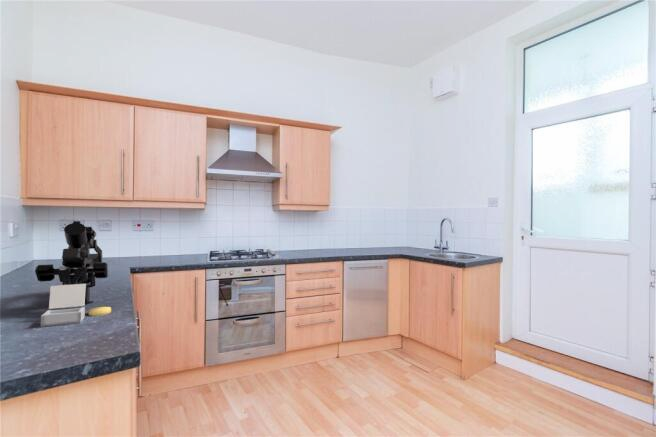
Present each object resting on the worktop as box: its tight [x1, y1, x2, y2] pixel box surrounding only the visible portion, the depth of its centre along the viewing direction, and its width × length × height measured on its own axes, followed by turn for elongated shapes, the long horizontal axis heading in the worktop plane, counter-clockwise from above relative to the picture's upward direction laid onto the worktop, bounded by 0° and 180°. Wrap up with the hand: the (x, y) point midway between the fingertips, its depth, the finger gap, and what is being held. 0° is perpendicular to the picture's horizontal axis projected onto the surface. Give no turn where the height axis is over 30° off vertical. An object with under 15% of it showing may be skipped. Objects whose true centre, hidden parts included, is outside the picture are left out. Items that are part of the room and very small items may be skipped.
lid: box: [48, 284, 86, 310], centre depth 102 cm, size 7×9×1 cm
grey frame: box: [40, 306, 86, 328], centre depth 97 cm, size 7×9×3 cm
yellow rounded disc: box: [88, 306, 112, 317], centre depth 107 cm, size 6×6×2 cm
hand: (69, 292), depth 104 cm, fingers closed
